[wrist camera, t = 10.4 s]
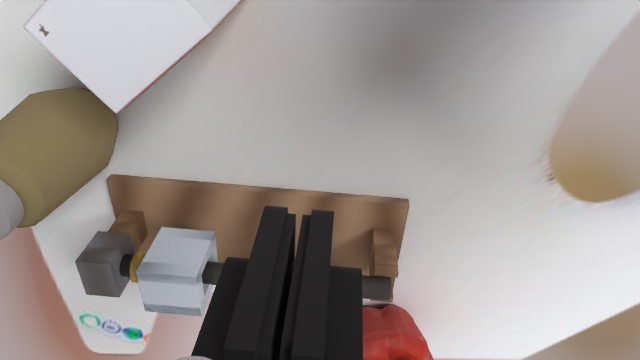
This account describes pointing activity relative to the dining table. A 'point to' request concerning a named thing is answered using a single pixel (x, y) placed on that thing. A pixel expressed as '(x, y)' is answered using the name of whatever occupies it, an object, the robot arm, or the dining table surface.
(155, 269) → the sleeve
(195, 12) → the small box
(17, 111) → the squeeze bottle
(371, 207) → the rod stand
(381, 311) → the vegetable
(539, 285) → the dining table surface
